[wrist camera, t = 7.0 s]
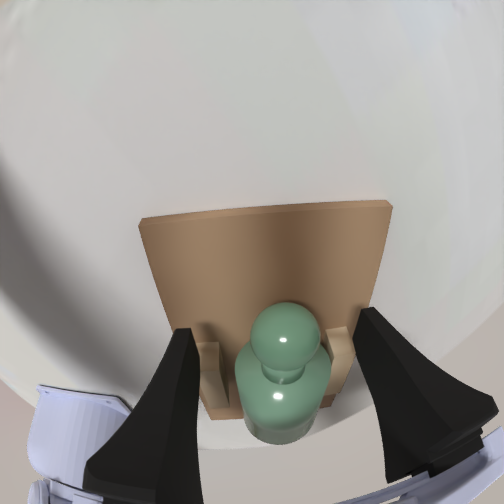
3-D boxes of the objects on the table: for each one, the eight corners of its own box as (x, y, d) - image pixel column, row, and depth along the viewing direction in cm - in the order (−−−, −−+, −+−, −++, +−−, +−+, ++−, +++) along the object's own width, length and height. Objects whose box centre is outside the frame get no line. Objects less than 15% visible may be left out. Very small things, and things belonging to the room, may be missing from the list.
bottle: (249, 450, 13) (232, 374, 8) (239, 390, 17) (220, 282, 12) (323, 435, 14) (365, 346, 8) (304, 378, 17) (322, 267, 12)
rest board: (211, 414, 21) (211, 439, 19) (142, 218, 11) (124, 253, 9) (329, 400, 21) (335, 424, 19) (386, 200, 11) (415, 228, 9)
